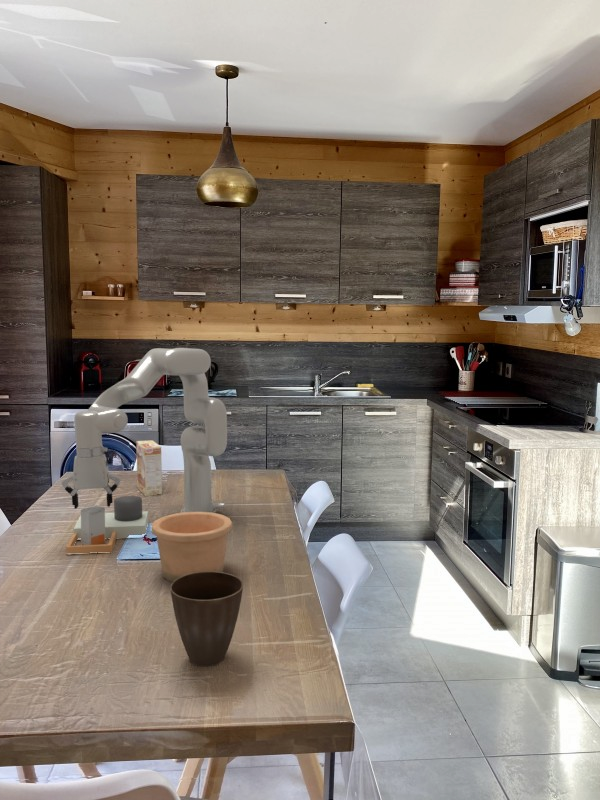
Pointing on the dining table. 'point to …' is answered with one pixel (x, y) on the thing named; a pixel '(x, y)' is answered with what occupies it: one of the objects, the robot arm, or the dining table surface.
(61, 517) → the dining table surface
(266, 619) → the dining table surface
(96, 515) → the skincare box
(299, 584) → the dining table surface
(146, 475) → the coffeecake box
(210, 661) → the plant pot
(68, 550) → the slab with grey cylinder
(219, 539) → the pottery
